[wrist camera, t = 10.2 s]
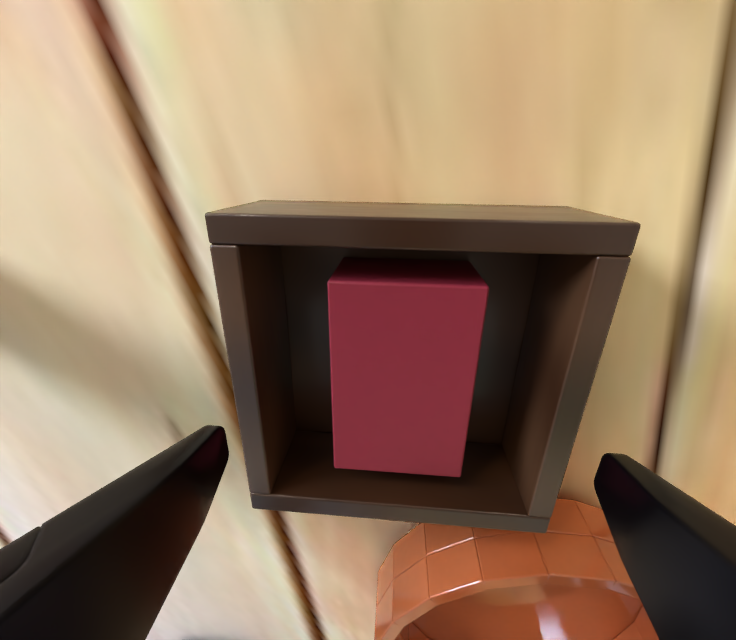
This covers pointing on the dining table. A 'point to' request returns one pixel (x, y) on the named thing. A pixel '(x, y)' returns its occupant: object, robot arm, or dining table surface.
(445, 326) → the dark red block
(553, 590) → the bowl
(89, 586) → the robot arm
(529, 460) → the holder
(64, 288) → the dining table surface
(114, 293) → the dining table surface
